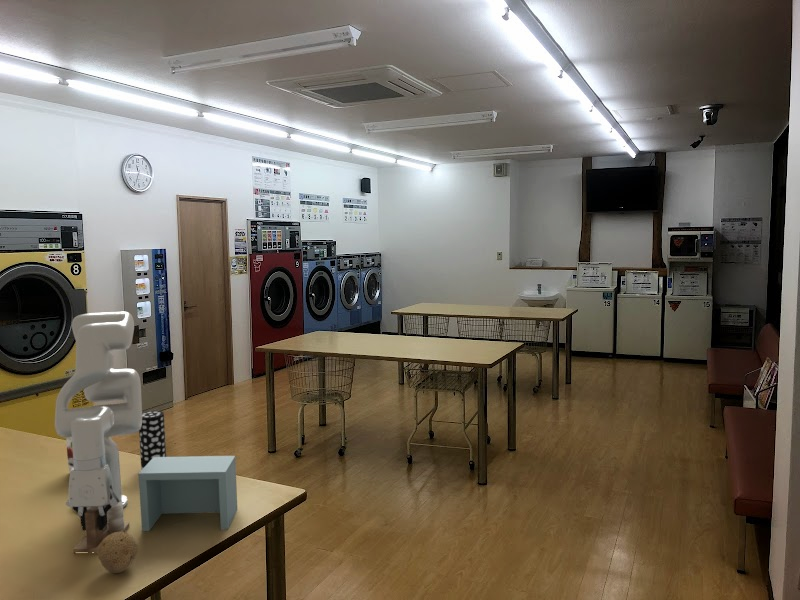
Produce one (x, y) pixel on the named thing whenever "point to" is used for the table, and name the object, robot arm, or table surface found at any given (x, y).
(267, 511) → the table surface
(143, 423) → the white-spotted black cylinder
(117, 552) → the natural sponge
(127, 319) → the robot arm
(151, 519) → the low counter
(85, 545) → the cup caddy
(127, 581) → the table surface
